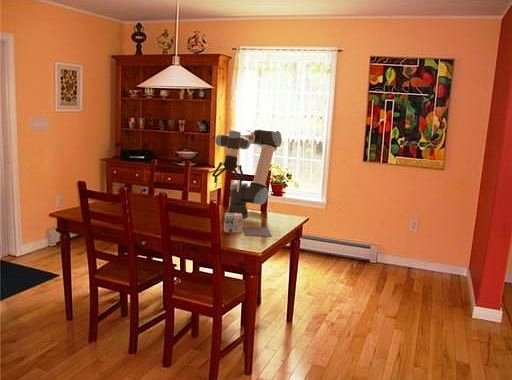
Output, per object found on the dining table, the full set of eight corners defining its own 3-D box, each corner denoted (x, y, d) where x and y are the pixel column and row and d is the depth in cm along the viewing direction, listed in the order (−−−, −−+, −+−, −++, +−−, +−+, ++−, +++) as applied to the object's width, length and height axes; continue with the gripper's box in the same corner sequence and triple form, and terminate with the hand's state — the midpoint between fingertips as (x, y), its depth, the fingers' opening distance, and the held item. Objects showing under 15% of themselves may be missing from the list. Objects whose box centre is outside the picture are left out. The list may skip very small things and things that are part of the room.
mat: (242, 227, 305) (242, 226, 305) (267, 228, 306) (267, 227, 306) (245, 235, 285) (245, 235, 285) (271, 236, 287) (271, 235, 287)
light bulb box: (224, 232, 290) (225, 215, 288) (223, 229, 296) (224, 212, 294) (242, 232, 292) (243, 215, 290) (240, 229, 298) (241, 213, 296)
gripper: (212, 152, 288) (206, 187, 288) (252, 158, 292) (247, 193, 292) (211, 153, 295) (206, 186, 295) (250, 159, 299) (245, 192, 299)
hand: (226, 190), depth 294 cm, fingers open, 13 cm apart
